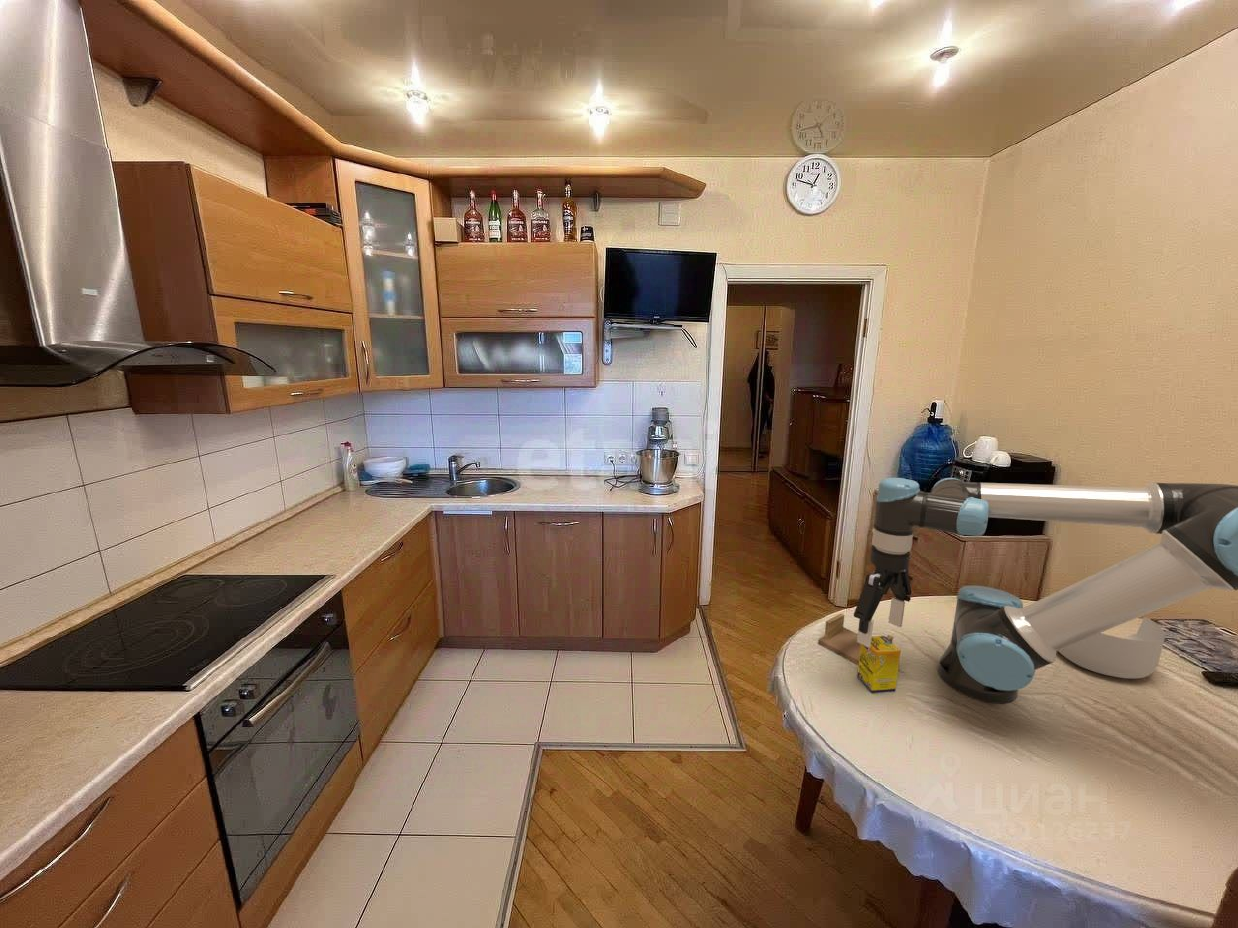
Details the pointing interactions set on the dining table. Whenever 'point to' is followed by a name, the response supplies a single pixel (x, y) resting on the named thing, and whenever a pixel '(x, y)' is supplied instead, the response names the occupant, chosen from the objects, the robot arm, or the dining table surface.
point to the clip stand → (842, 639)
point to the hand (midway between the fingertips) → (879, 634)
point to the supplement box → (879, 665)
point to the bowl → (1120, 652)
